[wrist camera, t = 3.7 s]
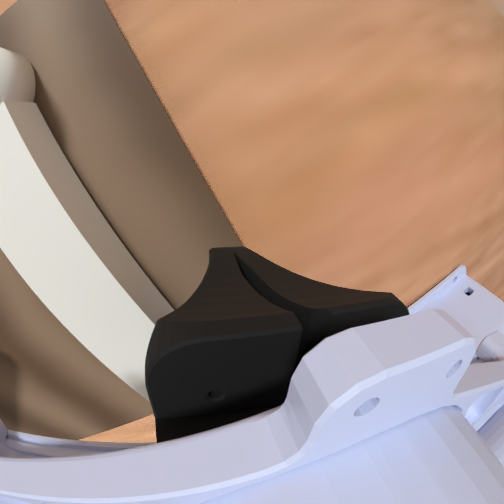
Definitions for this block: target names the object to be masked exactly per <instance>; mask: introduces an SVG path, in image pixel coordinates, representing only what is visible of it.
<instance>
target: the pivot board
mask: <svg viewBox="0 0 504 504" xmlns="http://www.w3.org/2000/svg"><path fill="white" fill-rule="evenodd" d="M0 47H1V48H4V49H7V50H10V51H13V52H15V53H18V54H20V55H22V56H24V57H25V58H26V59H27V60H28V61H29V62H30V64H31V66H32V68H33V71H34V75H35V97H34V102H33V103H36V104H37V106H38V108H39V110H40V112H41V114H42V116H43V118H44V120H45V122H46V123H47V125H48V127H49V129H50V131H51V133H52V134H53V136H54V138H55V140H56V142H57V143H58V145H59V147H60V149H61V150H62V152H63V154H64V155H65V157H66V159H67V160H68V162H69V164H70V165H71V167H72V169H73V170H74V172H75V174H76V175H77V177H78V178H79V180H80V182H81V183H82V185H83V186H84V188H85V190H86V191H87V193H88V194H89V196H90V197H91V199H92V200H93V202H94V203H95V205H96V206H97V208H98V209H99V211H100V212H101V214H102V215H103V217H104V218H105V220H106V221H107V223H108V224H109V225H110V227H111V228H112V230H113V231H114V233H115V234H116V235H117V237H118V238H119V240H120V241H121V242H122V244H123V245H124V246H125V248H126V249H127V251H128V252H129V253H130V255H131V256H132V257H133V259H134V260H135V261H136V263H137V264H138V265H139V267H140V268H141V269H142V270H143V272H144V273H145V274H146V276H147V277H148V278H149V280H150V281H151V282H152V283H153V285H154V286H155V287H156V288H157V290H158V291H159V292H160V293H161V295H162V296H163V297H164V298H165V300H166V301H167V302H168V303H169V304H170V306H171V307H172V308H173V309H174V310H176V309H177V308H179V307H180V306H181V305H183V304H184V303H185V302H186V301H187V300H188V299H189V298H190V297H191V296H192V294H193V293H194V292H195V291H196V289H197V288H198V286H199V285H200V283H201V281H202V280H203V278H204V275H205V273H206V271H207V268H208V265H209V250H210V249H211V248H218V247H239V246H243V245H242V244H241V242H240V240H239V238H238V237H237V235H236V233H235V232H234V230H233V228H232V226H231V225H230V223H229V221H228V219H227V218H226V216H225V214H224V212H223V211H222V209H221V207H220V205H219V204H218V202H217V200H216V198H215V197H214V195H213V193H212V191H211V190H210V188H209V186H208V184H207V183H206V181H205V179H204V177H203V176H202V174H201V172H200V170H199V169H198V167H197V165H196V163H195V162H194V160H193V158H192V156H191V155H190V153H189V151H188V149H187V148H186V146H185V144H184V142H183V141H182V139H181V137H180V135H179V134H178V132H177V130H176V128H175V127H174V125H173V123H172V121H171V120H170V118H169V116H168V114H167V113H166V111H165V109H164V107H163V105H162V104H161V102H160V100H159V98H158V97H157V95H156V93H155V91H154V90H153V88H152V86H151V84H150V82H149V81H148V79H147V77H146V75H145V74H144V72H143V70H142V68H141V67H140V65H139V63H138V61H137V59H136V58H135V56H134V54H133V52H132V51H131V49H130V47H129V45H128V43H127V42H126V40H125V38H124V36H123V35H122V33H121V31H120V29H119V27H118V26H117V24H116V22H115V20H114V18H113V17H112V15H111V13H110V11H109V9H108V8H107V6H106V4H105V2H104V1H103V0H18V1H17V2H16V3H14V4H13V5H12V6H11V7H10V8H8V9H7V10H6V11H5V12H4V13H3V14H2V15H1V16H0ZM151 414H154V413H153V410H152V406H151V403H150V402H149V401H148V400H147V399H145V398H144V397H143V396H141V395H140V394H139V393H138V392H136V391H135V390H134V389H132V388H131V387H130V386H129V385H128V384H126V383H125V382H124V381H123V380H122V379H120V378H119V377H118V376H117V375H116V374H114V373H113V372H112V371H111V370H110V369H109V368H108V367H106V366H105V365H104V364H103V363H102V362H101V361H100V360H99V359H97V358H96V357H95V356H94V355H93V354H92V353H91V352H90V351H89V350H88V349H87V348H86V347H85V346H84V345H83V344H82V343H81V342H80V341H79V340H78V339H77V338H76V337H75V336H74V335H73V334H72V333H71V332H70V331H69V330H68V329H67V328H66V327H65V326H64V325H63V324H62V323H61V322H60V321H59V320H58V319H57V318H56V317H55V316H54V314H53V313H52V312H51V311H50V310H49V309H48V308H47V307H46V305H45V304H44V303H43V302H42V301H41V300H40V299H39V297H38V296H37V295H36V294H35V293H34V291H33V290H32V289H31V288H30V287H29V285H28V284H27V283H26V282H25V280H24V279H23V278H22V277H21V275H20V274H19V273H18V271H17V270H16V269H15V267H14V266H13V265H12V263H11V262H10V261H9V259H8V258H7V256H6V255H5V254H4V252H3V251H2V249H1V248H0V419H1V421H2V422H3V423H4V425H5V426H6V428H7V429H8V430H12V431H17V432H22V433H28V434H33V435H39V436H46V437H53V438H60V439H69V440H79V439H83V438H86V437H89V436H92V435H95V434H98V433H101V432H104V431H107V430H110V429H113V428H116V427H119V426H122V425H124V424H127V423H130V422H133V421H135V420H138V419H141V418H143V417H146V416H148V415H151Z"/></svg>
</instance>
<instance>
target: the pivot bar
mask: <svg viewBox="0 0 504 504" xmlns="http://www.w3.org/2000/svg"><path fill="white" fill-rule="evenodd" d="M34 97H35V75H34V71H33V68H32V66H31V64H30V62H29V61H28V60H27V59H26V58H25V57H24V56H22V55H20V54H18V53H15V52H13V51H10V50H7V49H4V48H1V47H0V248H1V249H2V251H3V252H4V254H5V255H6V256H7V258H8V259H9V261H10V262H11V263H12V265H13V266H14V267H15V269H16V270H17V271H18V273H19V274H20V275H21V277H22V278H23V279H24V280H25V282H26V283H27V284H28V285H29V287H30V288H31V289H32V290H33V291H34V293H35V294H36V295H37V296H38V297H39V299H40V300H41V301H42V302H43V303H44V304H45V305H46V307H47V308H48V309H49V310H50V311H51V312H52V313H53V314H54V316H55V317H56V318H57V319H58V320H59V321H60V322H61V323H62V324H63V325H64V326H65V327H66V328H67V329H68V330H69V331H70V332H71V333H72V334H73V335H74V336H75V337H76V338H77V339H78V340H79V341H80V342H81V343H82V344H83V345H84V346H85V347H86V348H87V349H88V350H89V351H90V352H91V353H92V354H93V355H94V356H95V357H96V358H97V359H99V360H100V361H101V362H102V363H103V364H104V365H105V366H106V367H108V368H109V369H110V370H111V371H112V372H113V373H114V374H116V375H117V376H118V377H119V378H120V379H122V380H123V381H124V382H125V383H126V384H128V385H129V386H130V387H131V388H132V389H134V390H135V391H136V392H138V393H139V394H140V395H141V396H143V397H144V398H145V399H147V400H148V401H149V402H150V400H149V397H148V393H147V390H146V385H145V359H146V353H147V349H148V344H149V341H150V338H151V335H152V332H153V329H154V327H155V324H156V322H157V320H158V319H160V318H162V317H164V316H165V315H167V314H169V313H171V312H173V311H174V309H173V308H172V307H171V306H170V304H169V303H168V302H167V301H166V300H165V298H164V297H163V296H162V295H161V293H160V292H159V291H158V290H157V288H156V287H155V286H154V285H153V283H152V282H151V281H150V280H149V278H148V277H147V276H146V274H145V273H144V272H143V270H142V269H141V268H140V267H139V265H138V264H137V263H136V261H135V260H134V259H133V257H132V256H131V255H130V253H129V252H128V251H127V249H126V248H125V246H124V245H123V244H122V242H121V241H120V240H119V238H118V237H117V235H116V234H115V233H114V231H113V230H112V228H111V227H110V225H109V224H108V223H107V221H106V220H105V218H104V217H103V215H102V214H101V212H100V211H99V209H98V208H97V206H96V205H95V203H94V202H93V200H92V199H91V197H90V196H89V194H88V193H87V191H86V190H85V188H84V186H83V185H82V183H81V182H80V180H79V178H78V177H77V175H76V174H75V172H74V170H73V169H72V167H71V165H70V164H69V162H68V160H67V159H66V157H65V155H64V154H63V152H62V150H61V149H60V147H59V145H58V143H57V142H56V140H55V138H54V136H53V134H52V133H51V131H50V129H49V127H48V125H47V123H46V122H45V120H44V118H43V116H42V114H41V112H40V110H39V108H38V106H37V104H36V103H33V102H34Z"/></svg>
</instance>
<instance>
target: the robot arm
mask: <svg viewBox="0 0 504 504" xmlns="http://www.w3.org/2000/svg"><path fill="white" fill-rule="evenodd" d="M145 385H146V390H147V393H148V397H149V400H150V403H151V406H152V410H153V413H154V416H155V422H156V437H157V443H111V442H92V441H79V440H69V439H60V438H53V437H46V436H39V435H33V434H28V433H22V432H17V431H12V430H8V429H7V428H6V426H5V425H4V423H3V422H2V421H1V419H0V504H504V302H503V301H502V300H500V299H499V298H498V297H496V296H495V295H494V294H492V293H491V292H490V291H488V290H487V289H486V288H484V287H483V286H481V285H480V284H479V283H477V282H476V281H474V280H473V279H472V278H470V277H469V276H467V275H466V267H465V266H464V265H460V266H459V267H458V268H456V269H455V270H454V271H453V272H452V273H451V274H449V275H448V276H447V277H446V278H445V279H444V280H442V281H441V282H440V283H439V284H437V285H436V286H435V287H434V288H433V289H431V290H430V291H429V292H428V293H426V294H425V295H424V296H422V297H421V298H420V299H419V300H417V301H416V302H415V303H413V304H412V305H411V306H409V307H408V308H407V307H406V306H405V305H404V304H403V303H402V302H401V301H400V300H399V299H398V298H397V297H396V296H395V295H393V294H392V293H386V292H372V291H361V290H354V289H348V288H342V287H337V286H333V285H329V284H325V283H321V282H318V281H315V280H312V279H309V278H306V277H303V276H301V275H298V274H296V273H293V272H291V271H289V270H287V269H285V268H282V267H280V266H278V265H276V264H275V263H273V262H271V261H269V260H267V259H266V258H264V257H262V256H260V255H259V254H257V253H255V252H253V251H252V250H250V249H248V248H246V247H243V246H239V247H218V248H211V249H210V250H209V265H208V268H207V271H206V273H205V275H204V278H203V280H202V281H201V283H200V285H199V286H198V288H197V289H196V291H195V292H194V293H193V294H192V296H191V297H190V298H189V299H188V300H187V301H186V302H185V303H184V304H183V305H181V306H180V307H179V308H177V309H176V310H174V311H173V312H171V313H169V314H167V315H165V316H164V317H162V318H160V319H158V320H157V322H156V324H155V327H154V329H153V332H152V335H151V338H150V341H149V344H148V349H147V353H146V359H145Z"/></svg>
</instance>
